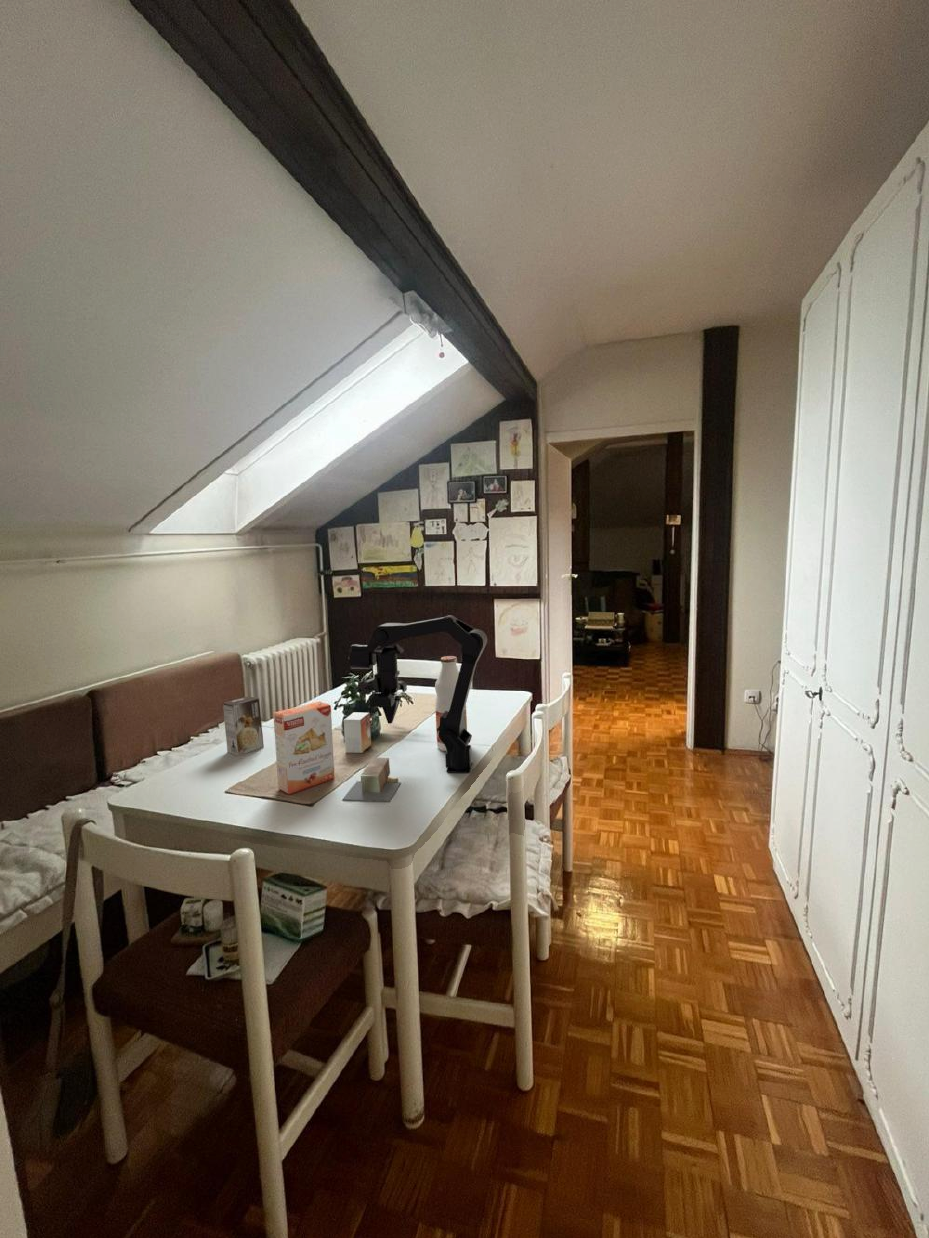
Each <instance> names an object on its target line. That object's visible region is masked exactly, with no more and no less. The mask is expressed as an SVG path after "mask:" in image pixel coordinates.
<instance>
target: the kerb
mask: <svg viewBox="0 0 929 1238" xmlns="http://www.w3.org/2000/svg"><path fill="white" fill-rule="evenodd" d="M386 782H399V777H388V778H387V780H386Z"/></svg>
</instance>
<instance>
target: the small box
mask: <svg viewBox="0 0 929 1238" xmlns="http://www.w3.org/2000/svg"><path fill="white" fill-rule="evenodd" d="M370 720H371V719H370V712H360V711H359V712H357V711H355V712H352V713H351V714H349V715H348V716H347V717H346V718H344V719H343V731H344V732H343V733H344V748H345V754H346V753H349V754H350V753H351V754H355V753H356V754H363V753H364V751H366V749H368V748H369V747H370V746H372V737H371V735H372V734H371V721H370Z"/></svg>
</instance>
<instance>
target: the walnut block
mask: <svg viewBox="0 0 929 1238" xmlns="http://www.w3.org/2000/svg"><path fill="white" fill-rule="evenodd" d="M390 767H391V766H390V758H389V757H372V758H371V759H370V761H369V763H368V764H367V765H366V767H365V769H364V770H363V772H362V773H361V775H360V781H361V784H362V792H375V793H379V792H380V791H381V789H382V787H383V785H384V783H385V782H386V780H387V778H389V776H390V775H391V768H390Z"/></svg>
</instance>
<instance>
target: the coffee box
mask: <svg viewBox="0 0 929 1238" xmlns="http://www.w3.org/2000/svg"><path fill="white" fill-rule="evenodd" d="M260 705H261V704H260V698H258V697H252V696H248V695H247V696H243V697H240V698H235V699H232V700H229V701H224V702H222V710H223V721H224V722H223V723H224V732H225V740H226V748H227V750H226V751H227V753H229V754H231V755H235V756H238V757H239V756H242V755H245V754H248V753H250V752H254V751H256V750H259V749H262V748H264V747H265V744H264V735H263V734H264V733H263V724H262V717H261V716H262V715H261V706H260Z"/></svg>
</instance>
